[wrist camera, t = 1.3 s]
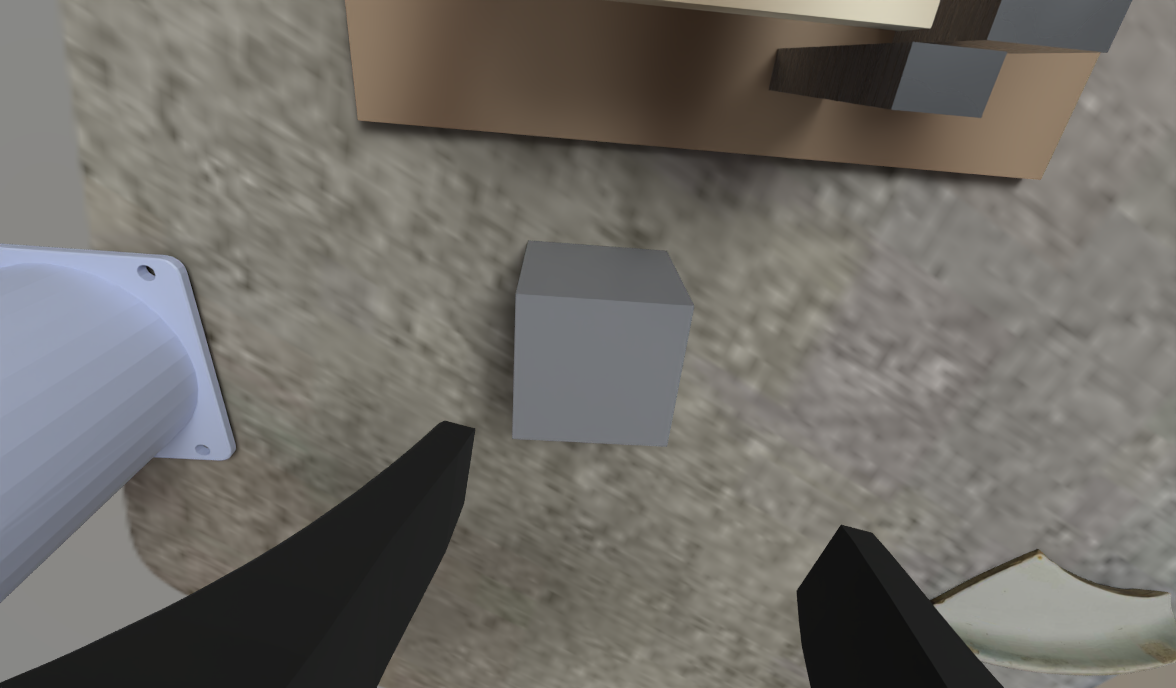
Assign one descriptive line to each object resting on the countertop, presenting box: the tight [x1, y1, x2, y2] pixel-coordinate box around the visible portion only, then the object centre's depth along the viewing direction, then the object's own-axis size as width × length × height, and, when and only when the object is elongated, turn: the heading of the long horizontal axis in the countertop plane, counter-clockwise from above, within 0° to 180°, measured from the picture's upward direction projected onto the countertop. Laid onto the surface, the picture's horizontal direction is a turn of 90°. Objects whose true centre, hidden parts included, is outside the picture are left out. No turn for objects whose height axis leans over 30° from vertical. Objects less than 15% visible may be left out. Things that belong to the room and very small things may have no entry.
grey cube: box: [512, 240, 694, 447], centre depth 16 cm, size 4×4×4 cm
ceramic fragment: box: [930, 549, 1176, 676], centre depth 25 cm, size 14×5×4 cm, turn 88°
